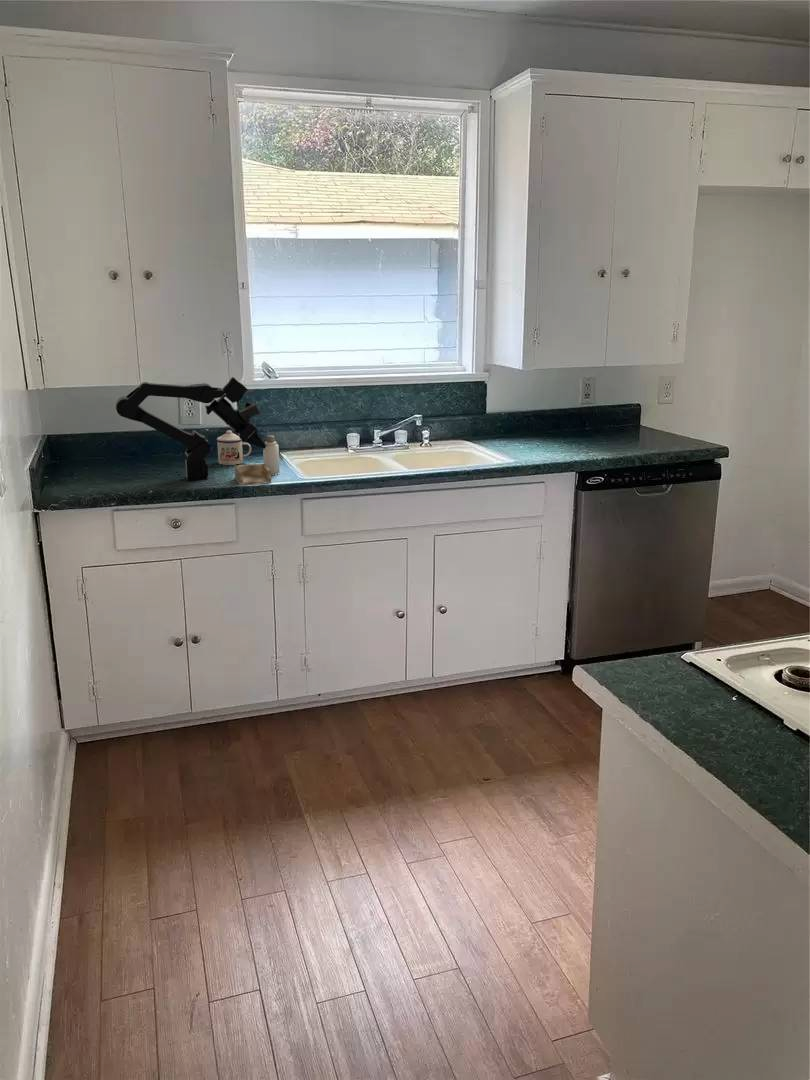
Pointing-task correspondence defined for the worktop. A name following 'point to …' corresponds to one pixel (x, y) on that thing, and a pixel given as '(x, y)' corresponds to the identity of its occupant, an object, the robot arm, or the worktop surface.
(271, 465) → the stoneware bottle
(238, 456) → the teacup with lid
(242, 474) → the maple U-rest
